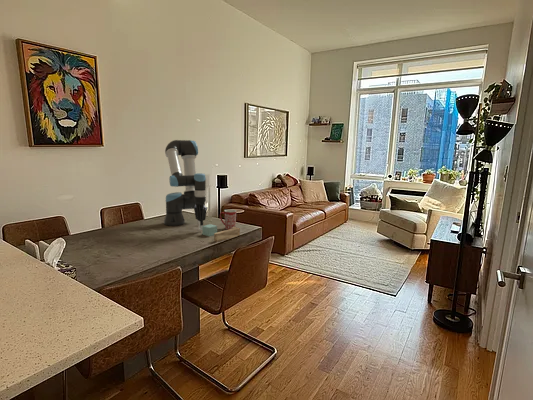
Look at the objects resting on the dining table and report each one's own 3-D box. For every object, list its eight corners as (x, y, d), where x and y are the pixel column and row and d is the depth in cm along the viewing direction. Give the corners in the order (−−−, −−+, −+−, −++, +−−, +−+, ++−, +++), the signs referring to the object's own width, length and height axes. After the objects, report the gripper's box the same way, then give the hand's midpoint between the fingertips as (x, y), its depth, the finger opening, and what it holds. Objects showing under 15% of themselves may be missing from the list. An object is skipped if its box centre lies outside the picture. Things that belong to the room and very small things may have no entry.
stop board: (212, 240, 202) (212, 232, 201) (234, 234, 217) (234, 226, 216) (217, 242, 199) (217, 234, 198) (239, 235, 214) (239, 228, 213)
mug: (238, 227, 233) (238, 209, 231) (233, 230, 225) (233, 212, 222) (222, 226, 237) (222, 208, 235) (217, 229, 228) (217, 210, 226)
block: (202, 234, 215) (202, 226, 214) (210, 232, 220) (210, 224, 219) (209, 236, 210) (209, 227, 209) (217, 234, 216) (217, 225, 215)
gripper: (189, 195, 218) (190, 228, 222) (201, 198, 210) (202, 232, 214) (198, 194, 224) (198, 227, 228) (210, 196, 216) (210, 230, 220)
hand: (200, 229), depth 221 cm, fingers closed
